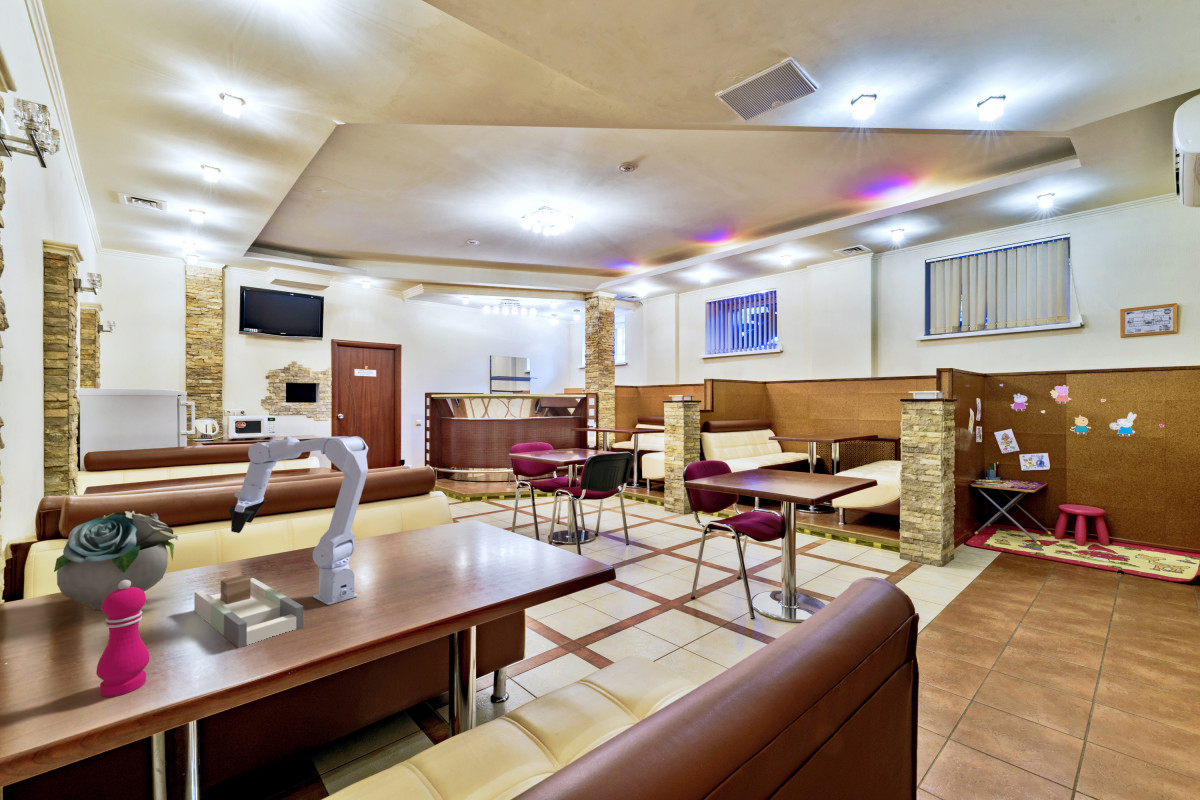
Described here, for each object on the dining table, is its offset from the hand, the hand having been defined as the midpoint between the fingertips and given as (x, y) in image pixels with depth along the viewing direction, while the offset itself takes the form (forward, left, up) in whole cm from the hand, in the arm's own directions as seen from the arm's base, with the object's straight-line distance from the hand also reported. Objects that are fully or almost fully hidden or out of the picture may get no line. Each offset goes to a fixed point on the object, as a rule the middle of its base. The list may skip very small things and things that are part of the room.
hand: (241, 526), depth 144 cm
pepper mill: (-41, +31, -18) cm, 55 cm away
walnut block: (-16, +6, -15) cm, 23 cm away
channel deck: (-24, +6, -18) cm, 31 cm away
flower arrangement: (+14, +24, -18) cm, 33 cm away
